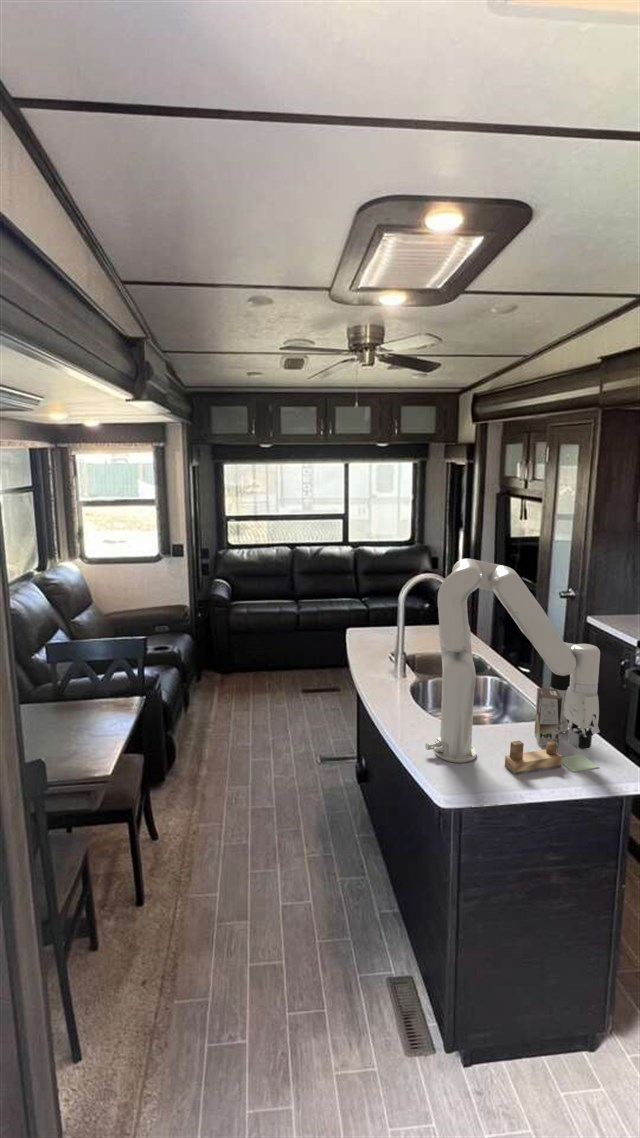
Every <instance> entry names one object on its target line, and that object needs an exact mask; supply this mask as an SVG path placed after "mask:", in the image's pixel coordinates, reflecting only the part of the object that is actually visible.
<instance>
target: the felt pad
mask: <svg viewBox="0 0 640 1138" xmlns="http://www.w3.org/2000/svg"><path fill="white" fill-rule="evenodd" d="M562 766H565V767H566V768H568V770H570V771H572V772H573V773H576V772H583V771H587V770H588V771H589V770H593V769H599V768H600V765H597V763H594V762H593V761H591V760H590V759H588V758H587V757H585V756H584V755H583V754H575V755H569V756H562Z"/></svg>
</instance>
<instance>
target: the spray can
mask: <svg viewBox="0 0 640 1138" xmlns="http://www.w3.org/2000/svg"><path fill="white" fill-rule="evenodd" d="M569 686H570V674H569V675H566V676H560V675H557V674H555V673H553V672H552V671H551V674H550V683H549V689H557V691H558V692H559V694H560V696H561V698H562V706H561V718H560V731H559V734H561V733H562V734H563V733H564V734H565V733H566V732H568V731H569V727H568V725H569V724H568V721H567V719H566V718H565V717H564V715H563V711H564V702H565V696H566V692H567V689H568V687H569Z"/></svg>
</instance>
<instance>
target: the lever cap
mask: <svg viewBox="0 0 640 1138" xmlns="http://www.w3.org/2000/svg"><path fill="white" fill-rule="evenodd" d="M587 731H588V728H587V729H586V732H587ZM581 736H582V728H581V727H578V728H573V729H569V728H568V735H567V744H568V745H570V746H571V747H573V748H574V749H576V750H581V749H580V740H581ZM592 741H593V736H591V744H590V748H592Z"/></svg>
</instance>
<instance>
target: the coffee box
mask: <svg viewBox="0 0 640 1138" xmlns="http://www.w3.org/2000/svg"><path fill="white" fill-rule="evenodd" d="M535 700H536V701H535V702H536V703H535V716H534V717H535V719H534V736H535V739H536V742H537V744H538V746H546V747H547V742H555V743H556V744H557V747H559V742H560V733H559V731H560V718H561V706H562V698H561V696H560V694H559V692H558V691H557V689H550V688H542V687H541V688H538V687H537V689H536V699H535Z"/></svg>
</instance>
